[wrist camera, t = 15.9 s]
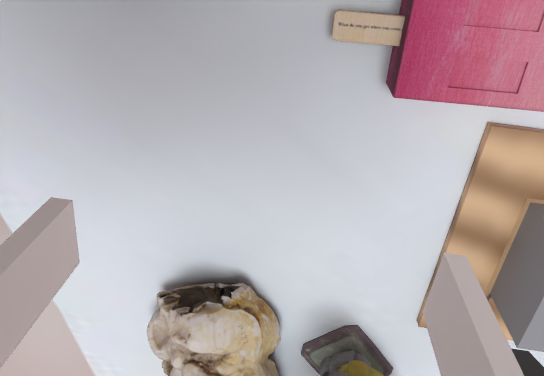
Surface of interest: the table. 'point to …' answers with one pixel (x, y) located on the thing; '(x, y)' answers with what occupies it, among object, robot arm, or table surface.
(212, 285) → the stone
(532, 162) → the oak board
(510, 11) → the pink flat block
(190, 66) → the table surface
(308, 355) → the statue
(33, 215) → the robot arm
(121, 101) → the table surface
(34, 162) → the table surface
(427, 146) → the table surface
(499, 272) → the block
